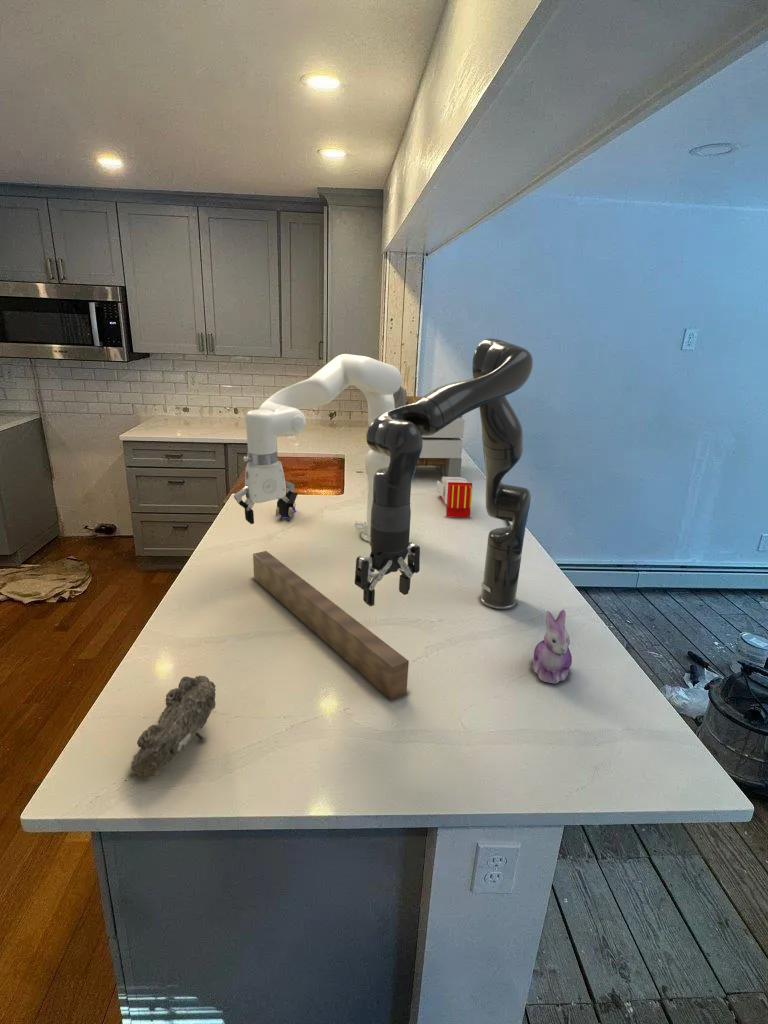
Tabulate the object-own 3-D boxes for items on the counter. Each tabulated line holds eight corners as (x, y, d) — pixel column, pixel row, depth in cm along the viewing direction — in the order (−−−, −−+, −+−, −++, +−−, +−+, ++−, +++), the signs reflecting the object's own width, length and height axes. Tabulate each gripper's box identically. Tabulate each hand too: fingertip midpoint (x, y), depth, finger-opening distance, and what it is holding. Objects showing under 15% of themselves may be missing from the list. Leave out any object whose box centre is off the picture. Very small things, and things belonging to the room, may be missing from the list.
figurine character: (293, 526, 206) (298, 508, 219) (293, 507, 202) (298, 490, 216) (275, 525, 205) (281, 507, 219) (274, 507, 202) (280, 489, 215)
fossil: (164, 676, 112) (217, 643, 107) (198, 707, 115) (251, 677, 110) (105, 770, 92) (166, 735, 87) (148, 805, 95) (209, 773, 90)
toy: (463, 473, 243) (476, 484, 213) (461, 503, 245) (474, 518, 216) (435, 472, 242) (444, 483, 213) (433, 502, 245) (442, 517, 216)
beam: (253, 578, 163) (252, 553, 160) (266, 575, 165) (266, 550, 163) (391, 699, 115) (392, 667, 112) (406, 692, 117) (408, 660, 115)
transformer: (382, 463, 289) (386, 382, 275) (445, 464, 293) (451, 384, 279) (390, 482, 257) (394, 392, 243) (460, 483, 261) (468, 394, 247)
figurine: (551, 690, 120) (562, 629, 115) (520, 664, 128) (528, 606, 123) (584, 679, 124) (596, 619, 119) (551, 654, 132) (561, 597, 127)
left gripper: (237, 466, 140) (243, 530, 147) (299, 456, 150) (301, 516, 156) (225, 459, 146) (231, 521, 152) (285, 449, 156) (288, 508, 162)
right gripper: (371, 537, 100) (368, 617, 106) (431, 522, 109) (426, 596, 114) (348, 524, 106) (346, 600, 112) (406, 510, 114) (402, 582, 120)
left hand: (266, 518), depth 154 cm, fingers open, 9 cm apart
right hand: (386, 598), depth 113 cm, fingers open, 8 cm apart
